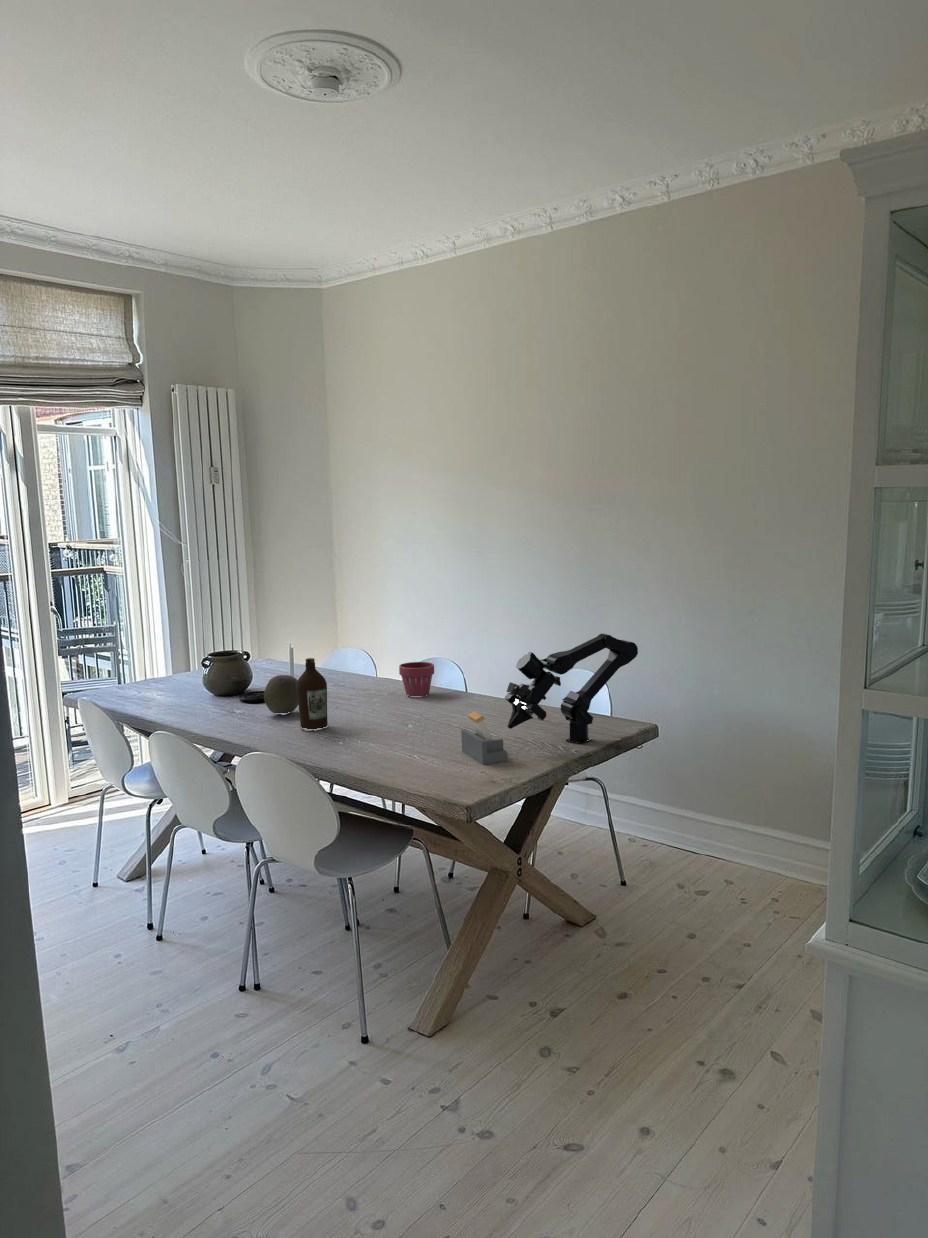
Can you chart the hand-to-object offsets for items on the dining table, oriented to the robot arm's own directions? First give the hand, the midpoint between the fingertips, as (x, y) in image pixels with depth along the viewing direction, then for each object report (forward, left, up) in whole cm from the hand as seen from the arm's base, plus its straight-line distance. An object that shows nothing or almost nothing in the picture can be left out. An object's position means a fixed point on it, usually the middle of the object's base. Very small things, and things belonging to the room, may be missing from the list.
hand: (508, 727), depth 269 cm
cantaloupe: (+1, -103, -8) cm, 103 cm away
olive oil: (+10, -77, -8) cm, 78 cm away
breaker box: (+7, -4, -8) cm, 12 cm away
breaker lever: (+6, -4, -4) cm, 8 cm away
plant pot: (-48, -78, -8) cm, 91 cm away
